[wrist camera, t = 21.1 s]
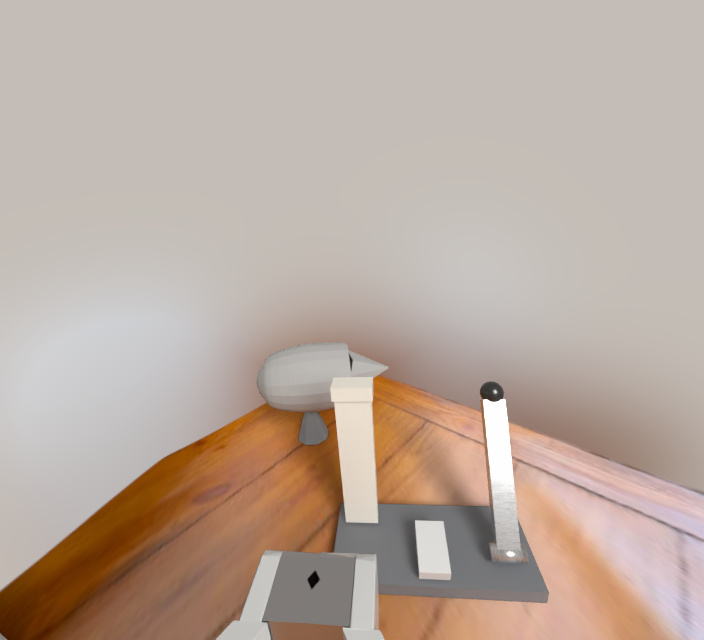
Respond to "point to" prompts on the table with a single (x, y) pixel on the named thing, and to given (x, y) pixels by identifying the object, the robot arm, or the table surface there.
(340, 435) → the beige rectangular bar
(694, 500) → the table surface
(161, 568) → the table surface
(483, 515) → the console
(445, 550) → the block
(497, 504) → the steel toggle lever
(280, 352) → the jet engine
